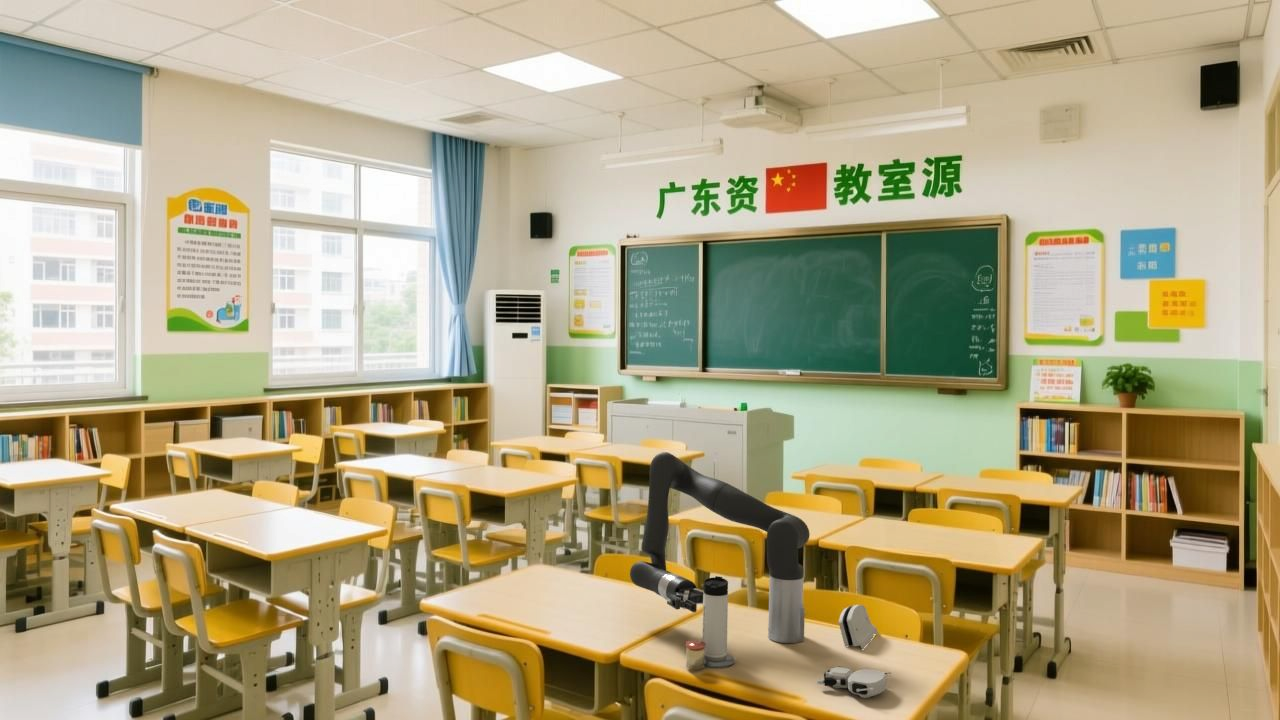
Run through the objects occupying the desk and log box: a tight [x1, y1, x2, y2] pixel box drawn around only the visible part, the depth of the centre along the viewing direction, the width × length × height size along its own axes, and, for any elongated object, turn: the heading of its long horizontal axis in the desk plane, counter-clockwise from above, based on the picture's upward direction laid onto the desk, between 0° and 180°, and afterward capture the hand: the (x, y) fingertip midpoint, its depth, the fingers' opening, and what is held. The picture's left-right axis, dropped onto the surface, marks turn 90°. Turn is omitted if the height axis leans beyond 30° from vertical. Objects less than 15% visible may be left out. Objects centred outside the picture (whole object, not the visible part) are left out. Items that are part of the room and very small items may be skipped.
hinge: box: [838, 604, 879, 650], centre depth 241 cm, size 17×5×10 cm, turn 151°
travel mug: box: [701, 575, 729, 662], centre depth 222 cm, size 6×7×20 cm
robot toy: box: [816, 666, 893, 699], centre depth 205 cm, size 12×4×15 cm
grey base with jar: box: [685, 639, 735, 671], centre depth 220 cm, size 16×10×6 cm, turn 138°
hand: (709, 606), depth 224 cm, fingers open, 8 cm apart
